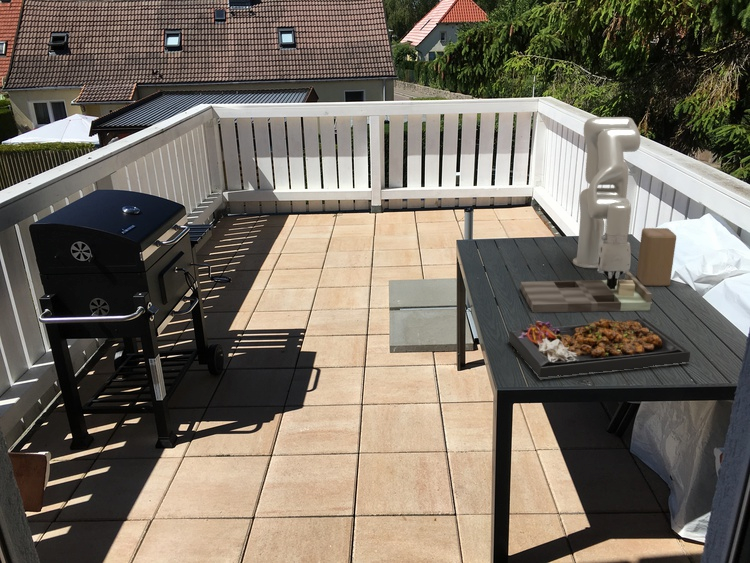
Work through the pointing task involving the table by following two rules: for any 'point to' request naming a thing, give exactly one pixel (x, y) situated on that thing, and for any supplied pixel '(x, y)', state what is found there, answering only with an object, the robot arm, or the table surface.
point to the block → (656, 256)
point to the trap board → (583, 296)
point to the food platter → (595, 347)
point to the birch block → (625, 287)
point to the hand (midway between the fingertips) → (611, 287)
